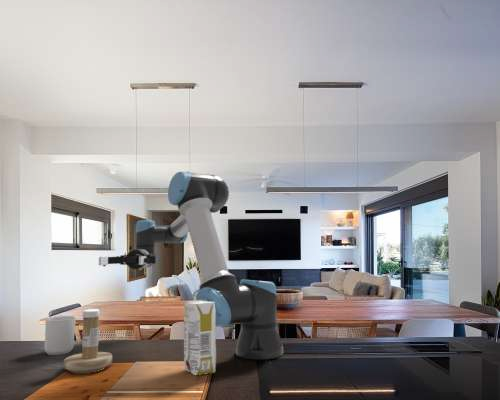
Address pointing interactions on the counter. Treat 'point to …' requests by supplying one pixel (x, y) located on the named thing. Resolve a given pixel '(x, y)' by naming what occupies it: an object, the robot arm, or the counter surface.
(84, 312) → the spice jar
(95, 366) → the disc
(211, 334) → the juice carton
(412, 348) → the counter surface
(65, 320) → the mug
